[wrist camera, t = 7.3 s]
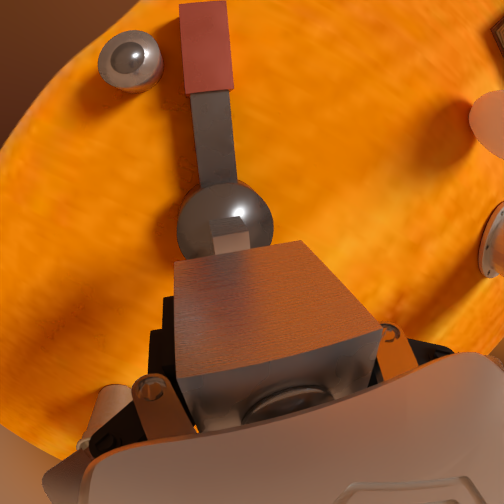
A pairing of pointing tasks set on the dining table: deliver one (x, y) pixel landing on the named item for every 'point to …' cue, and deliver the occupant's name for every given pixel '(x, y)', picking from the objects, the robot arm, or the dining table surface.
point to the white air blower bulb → (489, 121)
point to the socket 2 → (267, 335)
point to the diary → (499, 35)
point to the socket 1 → (131, 62)
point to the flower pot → (105, 410)
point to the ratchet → (215, 144)
